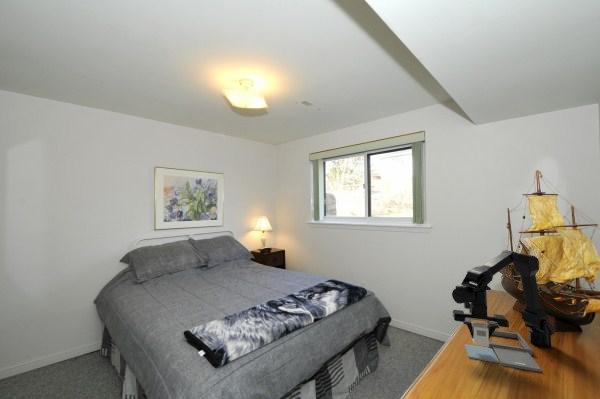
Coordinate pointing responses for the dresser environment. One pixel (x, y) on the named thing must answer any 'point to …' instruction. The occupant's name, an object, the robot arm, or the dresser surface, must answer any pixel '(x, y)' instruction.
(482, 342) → the block
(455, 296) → the robot arm
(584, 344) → the dresser surface
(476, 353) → the mat
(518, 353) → the grey open frame
